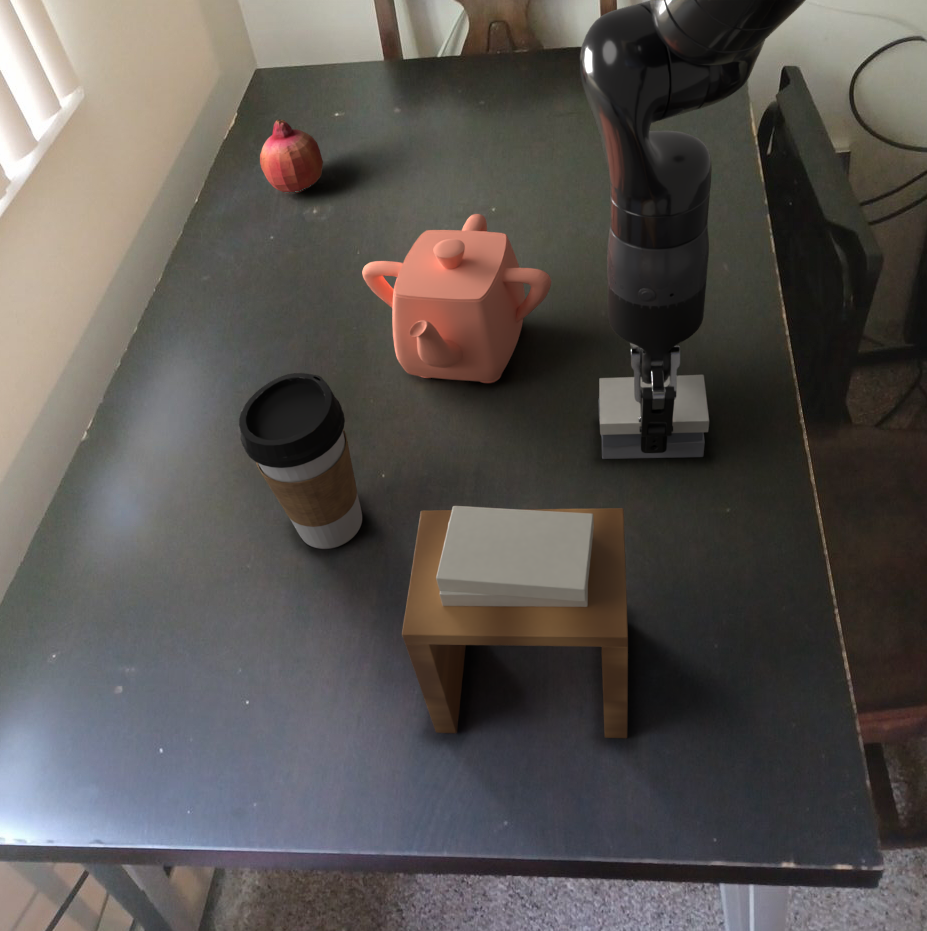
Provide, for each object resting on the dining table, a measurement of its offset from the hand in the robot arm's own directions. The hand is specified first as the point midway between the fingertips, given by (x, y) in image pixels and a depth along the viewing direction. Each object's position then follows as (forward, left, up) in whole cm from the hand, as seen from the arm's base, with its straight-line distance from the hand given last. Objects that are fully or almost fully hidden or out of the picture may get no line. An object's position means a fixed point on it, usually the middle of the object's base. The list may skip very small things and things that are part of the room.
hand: (651, 423), depth 82 cm
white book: (0, 0, +2) cm, 2 cm away
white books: (-14, +22, +12) cm, 29 cm away
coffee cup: (+9, +29, -2) cm, 30 cm away
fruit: (+64, +9, -2) cm, 65 cm away
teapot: (+21, +8, -2) cm, 23 cm away
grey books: (0, 0, -2) cm, 2 cm away
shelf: (-14, +22, -2) cm, 26 cm away
